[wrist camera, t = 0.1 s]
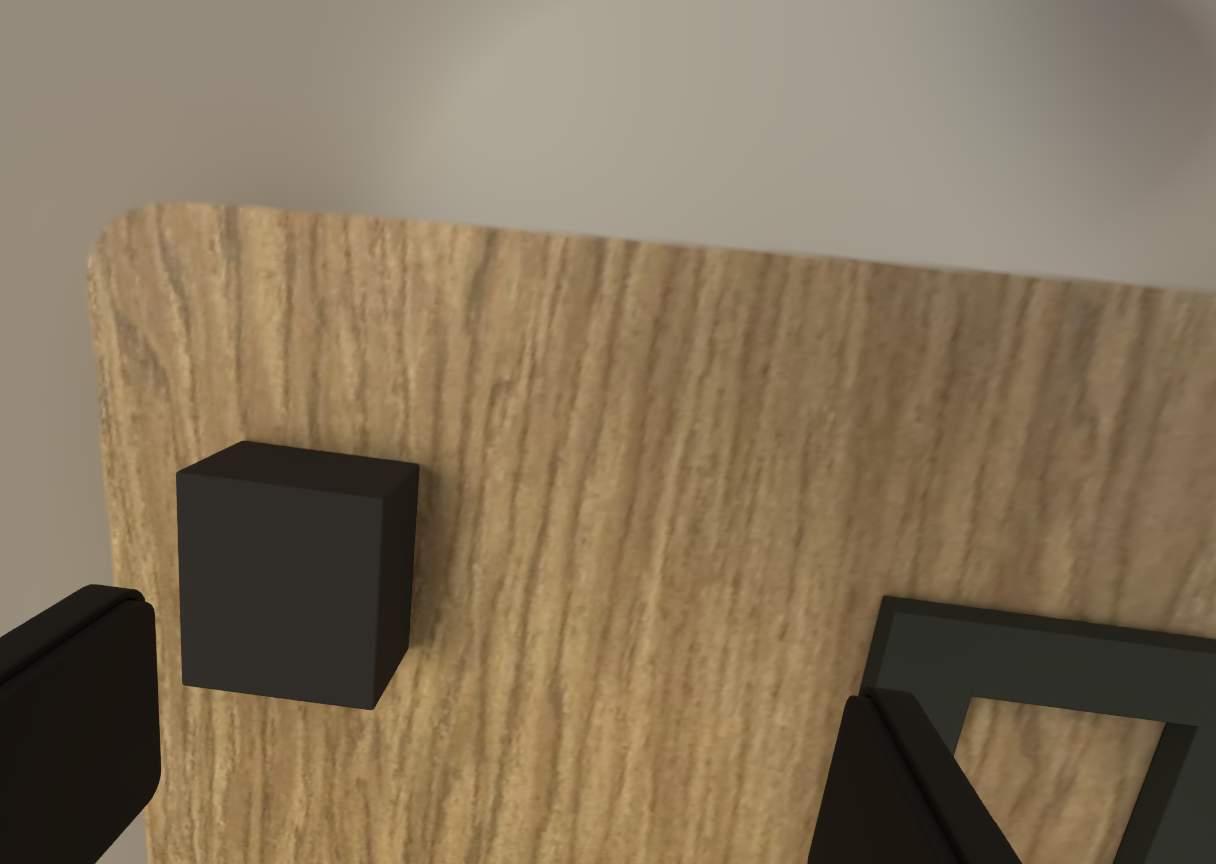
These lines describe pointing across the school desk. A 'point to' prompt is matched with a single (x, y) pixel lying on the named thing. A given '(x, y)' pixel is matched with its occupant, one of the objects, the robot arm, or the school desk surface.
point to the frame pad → (1071, 698)
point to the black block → (295, 572)
